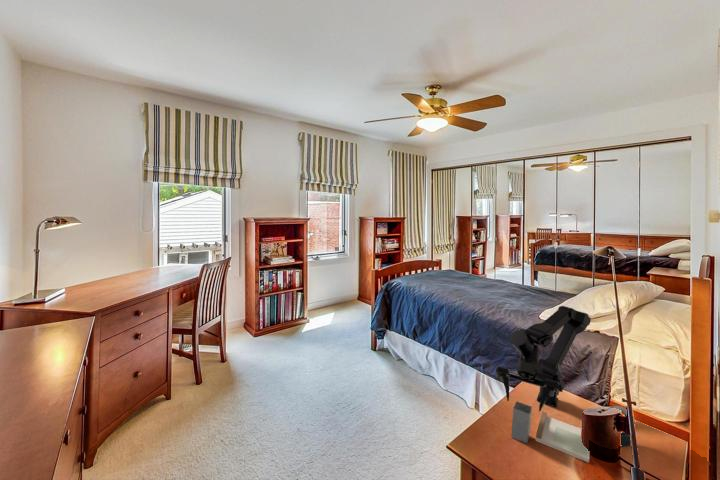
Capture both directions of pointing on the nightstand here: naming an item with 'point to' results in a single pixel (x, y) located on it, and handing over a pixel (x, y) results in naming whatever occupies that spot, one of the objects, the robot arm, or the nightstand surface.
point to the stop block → (521, 422)
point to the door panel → (561, 437)
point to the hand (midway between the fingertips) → (523, 405)
